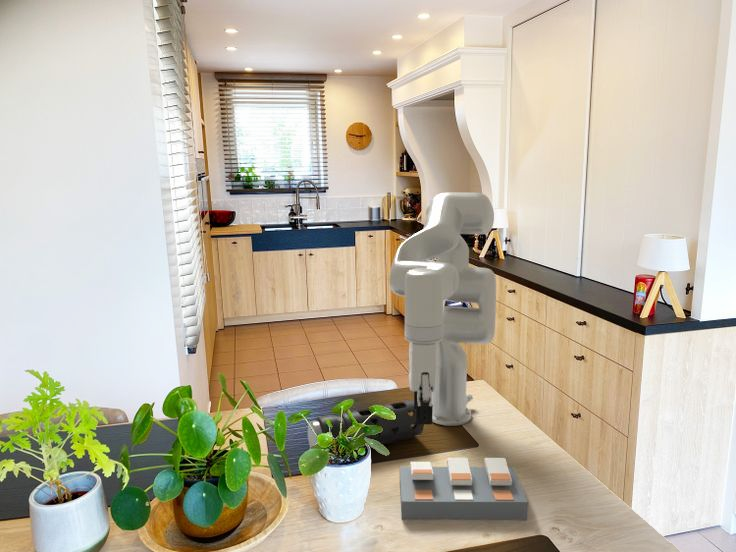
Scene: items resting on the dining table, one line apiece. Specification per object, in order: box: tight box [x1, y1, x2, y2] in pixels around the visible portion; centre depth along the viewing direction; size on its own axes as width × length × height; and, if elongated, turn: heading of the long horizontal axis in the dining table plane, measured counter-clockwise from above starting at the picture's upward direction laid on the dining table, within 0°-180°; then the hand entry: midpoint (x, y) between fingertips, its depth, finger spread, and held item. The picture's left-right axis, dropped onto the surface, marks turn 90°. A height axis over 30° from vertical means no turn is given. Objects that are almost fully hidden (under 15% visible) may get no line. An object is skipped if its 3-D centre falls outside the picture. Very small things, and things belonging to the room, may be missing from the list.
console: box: [399, 466, 529, 521], centre depth 118 cm, size 13×25×4 cm, turn 89°
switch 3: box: [483, 457, 512, 485], centre depth 119 cm, size 7×4×3 cm, turn 178°
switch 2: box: [446, 457, 472, 485], centre depth 119 cm, size 7×4×3 cm, turn 178°
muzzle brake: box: [307, 399, 425, 449], centre depth 140 cm, size 10×28×10 cm, turn 113°
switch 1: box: [409, 461, 433, 480], centre depth 119 cm, size 7×4×3 cm, turn 179°
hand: (422, 415), depth 114 cm, fingers open, 5 cm apart
